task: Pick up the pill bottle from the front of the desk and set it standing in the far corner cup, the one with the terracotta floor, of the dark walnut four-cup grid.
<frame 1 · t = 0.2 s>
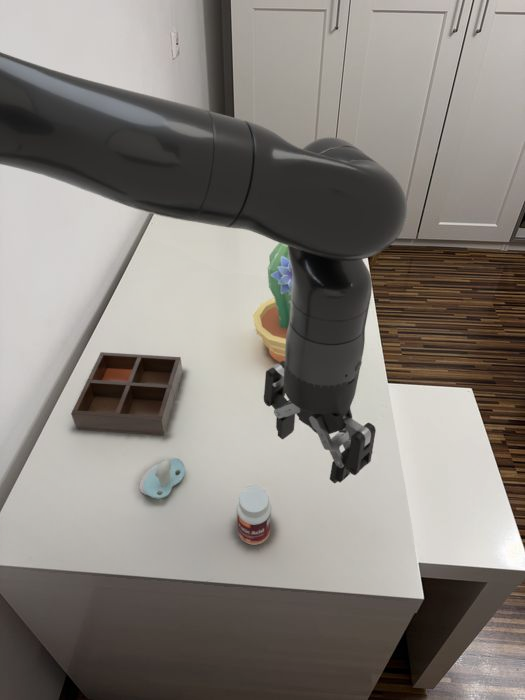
hand: (310, 455, 60), 18 cm above the table, tool pointing down, fingers open, 8 cm apart
grid: (132, 399, 91), on the table
pill bottle: (254, 530, 73), on the table
pacifier: (161, 483, 78), on the table
potted cactus: (290, 349, 102), on the table
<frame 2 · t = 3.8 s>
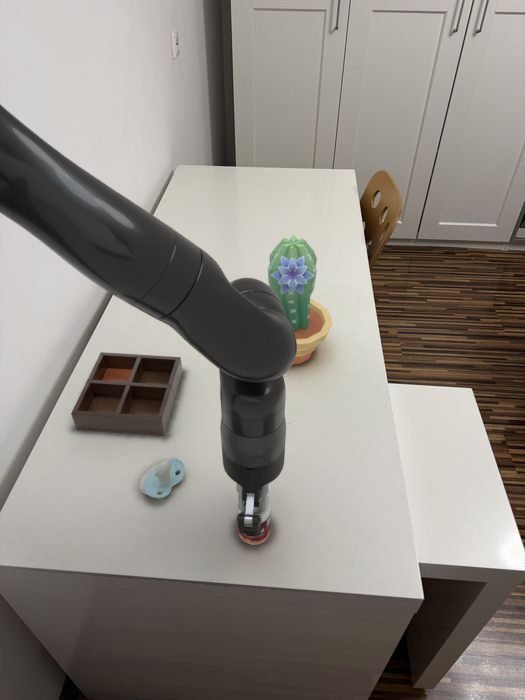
hand: (254, 514, 70), 4 cm above the table, tool pointing down, fingers closed on pill bottle, 4 cm apart
pill bottle: (254, 530, 73), on the table, touching gripper
everything else where it was.
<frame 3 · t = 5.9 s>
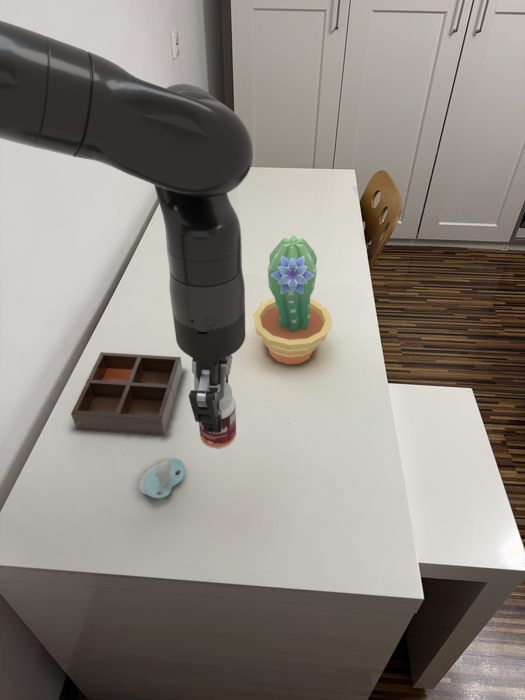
hand: (216, 413, 63), 20 cm above the table, tool pointing down, fingers closed on pill bottle, 4 cm apart
pill bottle: (218, 436, 66), point 15 cm above the table, touching gripper
everything else where it was.
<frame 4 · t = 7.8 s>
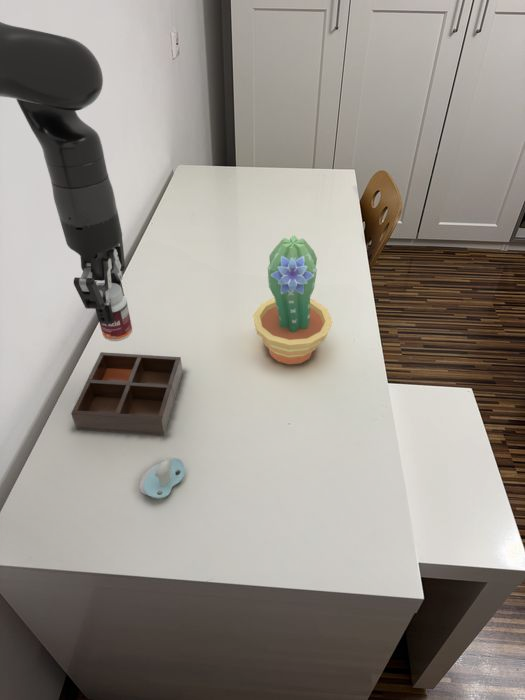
hand: (112, 311, 78), 20 cm above the table, tool pointing down, fingers closed on pill bottle, 4 cm apart
pill bottle: (118, 333, 81), point 16 cm above the table, touching gripper
everything else where it was.
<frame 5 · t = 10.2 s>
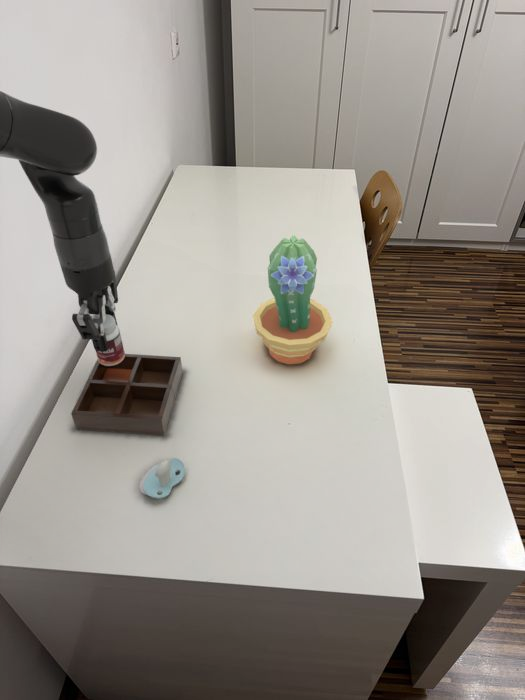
hand: (106, 339, 87), 11 cm above the table, tool pointing down, fingers closed on pill bottle, 4 cm apart
pill bottle: (112, 358, 90), point 7 cm above the table, touching gripper
everything else where it was.
when the fingers open (5 cm above the table, at t = 12.1 s): pill bottle stays where it is, resting on grid.
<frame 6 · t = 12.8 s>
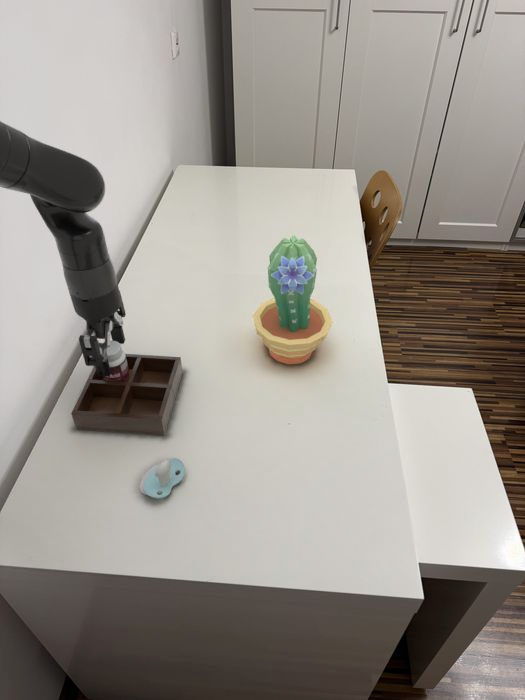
hand: (112, 358, 90), 7 cm above the table, tool pointing down, fingers open, 8 cm apart
pill bottle: (118, 381, 94), point 1 cm above the table, touching grid
everything else where it was.
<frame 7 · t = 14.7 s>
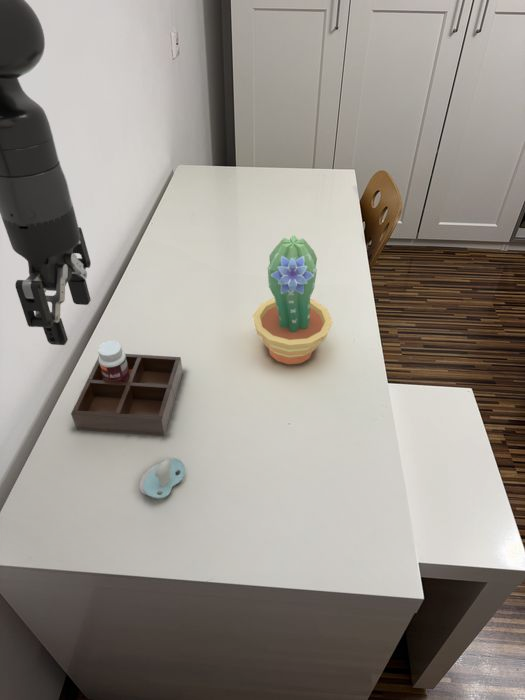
hand: (71, 322, 66), 27 cm above the table, tool pointing down, fingers open, 8 cm apart
nothing on the table moved.
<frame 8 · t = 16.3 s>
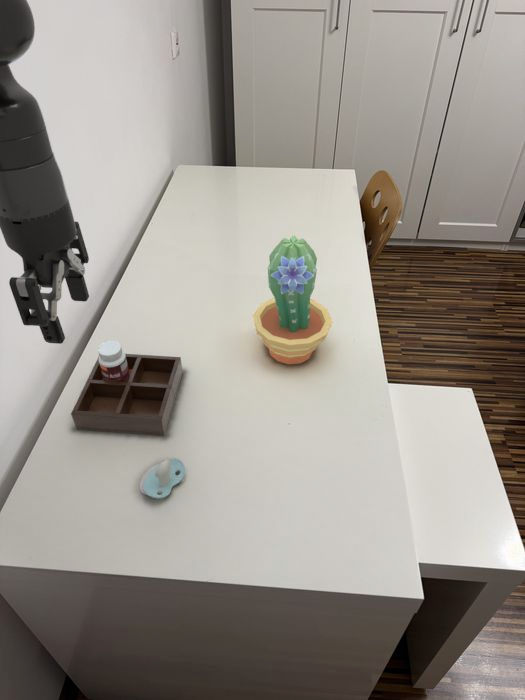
hand: (69, 319, 64), 28 cm above the table, tool pointing down, fingers open, 8 cm apart
nothing on the table moved.
at the end: pill bottle 0.1 cm from the target spot in the grid, point 0.6 cm above the grid's base; pill bottle tilted 0°; the gripper is holding nothing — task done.
